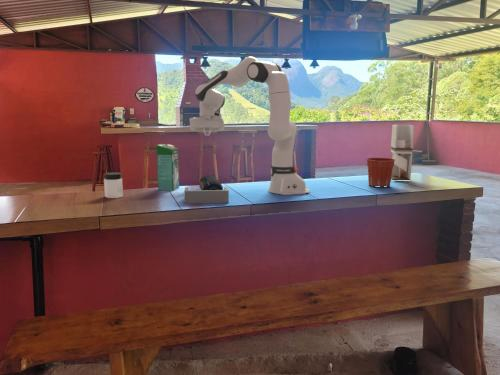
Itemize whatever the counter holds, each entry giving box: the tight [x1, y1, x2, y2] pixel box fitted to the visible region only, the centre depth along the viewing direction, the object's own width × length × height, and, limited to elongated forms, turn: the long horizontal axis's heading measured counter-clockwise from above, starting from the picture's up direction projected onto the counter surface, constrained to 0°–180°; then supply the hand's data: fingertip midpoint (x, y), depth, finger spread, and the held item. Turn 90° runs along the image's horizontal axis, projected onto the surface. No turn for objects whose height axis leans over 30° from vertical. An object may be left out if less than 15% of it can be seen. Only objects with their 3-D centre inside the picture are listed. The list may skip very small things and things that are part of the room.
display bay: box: [183, 186, 230, 204], centre depth 209 cm, size 21×10×6 cm, turn 96°
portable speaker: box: [198, 174, 224, 190], centre depth 219 cm, size 25×10×10 cm, turn 13°
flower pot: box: [365, 157, 395, 187], centre depth 252 cm, size 16×16×16 cm
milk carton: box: [156, 143, 180, 192], centre depth 237 cm, size 9×9×25 cm
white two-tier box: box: [390, 124, 415, 181], centre depth 270 cm, size 11×11×35 cm
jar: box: [103, 171, 124, 199], centre depth 217 cm, size 9×8×12 cm
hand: (207, 135), depth 247 cm, fingers closed
